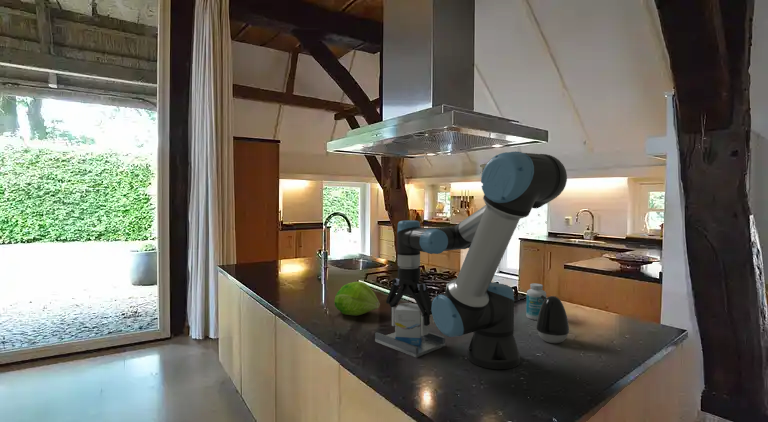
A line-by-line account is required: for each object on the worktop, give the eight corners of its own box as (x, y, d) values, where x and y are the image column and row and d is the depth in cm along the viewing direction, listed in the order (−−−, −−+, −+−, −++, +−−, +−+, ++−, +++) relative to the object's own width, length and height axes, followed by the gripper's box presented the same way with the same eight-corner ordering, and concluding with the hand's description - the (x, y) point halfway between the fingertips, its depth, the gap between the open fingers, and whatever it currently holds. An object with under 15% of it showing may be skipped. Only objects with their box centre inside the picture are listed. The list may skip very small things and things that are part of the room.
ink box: (420, 346, 132) (420, 310, 131) (394, 344, 133) (394, 309, 133) (423, 337, 140) (423, 303, 140) (399, 335, 142) (398, 302, 141)
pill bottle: (527, 320, 161) (527, 286, 160) (525, 314, 168) (525, 282, 168) (547, 321, 159) (547, 287, 159) (544, 315, 166) (544, 283, 166)
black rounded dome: (552, 333, 145) (552, 291, 145) (575, 343, 135) (576, 298, 135) (529, 337, 141) (529, 294, 141) (551, 348, 132) (552, 301, 131)
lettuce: (368, 323, 159) (368, 288, 159) (325, 316, 168) (325, 284, 168) (386, 312, 173) (385, 281, 172) (345, 307, 182) (345, 277, 181)
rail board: (445, 345, 134) (445, 336, 134) (416, 357, 125) (416, 348, 125) (404, 332, 148) (404, 323, 148) (375, 341, 139) (375, 332, 139)
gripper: (445, 270, 129) (445, 336, 130) (391, 261, 147) (391, 319, 148) (429, 273, 124) (430, 342, 125) (375, 263, 142) (376, 323, 143)
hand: (409, 329), depth 137 cm, fingers open, 13 cm apart
